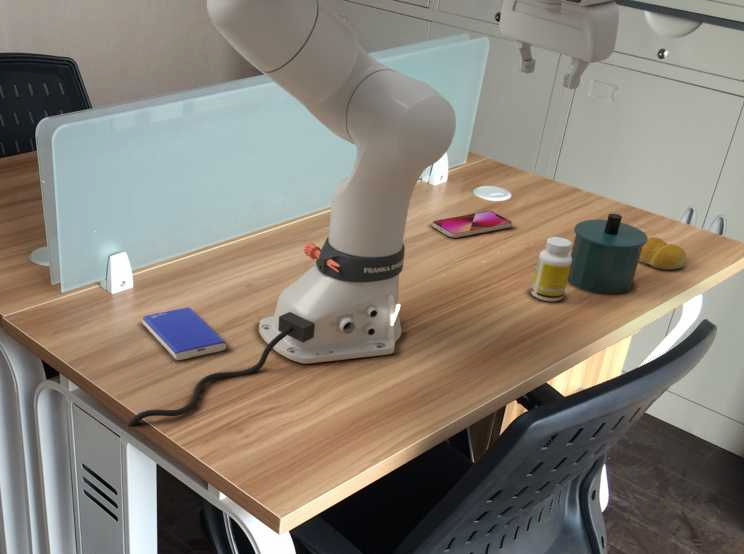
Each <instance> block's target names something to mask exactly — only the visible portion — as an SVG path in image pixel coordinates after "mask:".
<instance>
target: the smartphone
mask: <svg viewBox="0 0 744 554" xmlns="http://www.w3.org/2000/svg"><path fill="white" fill-rule="evenodd" d="M431 225H432V227H433V228H434V229H436V230H437V231H438V232H441V233H443V234H444V235H446V236H447V237H450V238H461V237H467V236H473V235H477V234H483V233H488V232H493V231H497V230H498V231H499V230H503V229H508V228H511V227H512V225H513V222H512V221H511V219H508V218H506V217H504V216H502V215H500V214H499V213H496V212H495V211H492V210H486V211H480V212H476V213H475V212H474V213H470V214H464V215H459V216H458V215H457V216H453V217H448V218H442V219H436V220H433V221H432V224H431Z"/></svg>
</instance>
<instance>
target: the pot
mask: <svg viewBox="0 0 744 554" xmlns="http://www.w3.org/2000/svg"><path fill="white" fill-rule="evenodd" d="M642 247H643V246H641V247H638V248H633V249H616V248H609V247H603V246H599V245H596V244H592V243H590V242H587V241H585V240H583V239H581V238H580V237H578V236H577V235H576V234H575V236H574V241H573V243H572V247H571V251H570V252H571V253H570V255H571V257H572V263H571V267H570V272H569V275H568V280H567V282H569V283H570V284H572V285H573V286H575V287H577V288H578V289H579V288H580V290H581V289H582V290H584V291H588V292H590V293H591V292H592V293H595V294H596V293H597V294H602V295H617V294H622V293H625V292H627V291H629V290H630V289H631V287H632V285H633V283H634V282H633V281H634V278H635V275H636V272H637V268H638V264H639V262H640V261H639V258H640V254H641V251H642Z"/></svg>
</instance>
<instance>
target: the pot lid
mask: <svg viewBox="0 0 744 554" xmlns="http://www.w3.org/2000/svg"><path fill="white" fill-rule="evenodd" d="M622 219H623V216H622V215H621V214H618V213H609V214H608V216H607V219H588V220H582V221H580V222H577V223H576V224H575V225H574V228H573V229H574V233H575V236H576V235H577V236H578V237H580V238H581V239H583V240H585V241H587V242H590V243H592V244H596V245H599V246H603V247H609V248H616V249H633V248H638V247H641V246H643V245H645V244H646V242H647V238H648V235H647V234H646V233H645V232H644V231H642V230H641V229H639V228H638V227H635V226H633V225H631V224H628V223H624V222H622Z"/></svg>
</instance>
